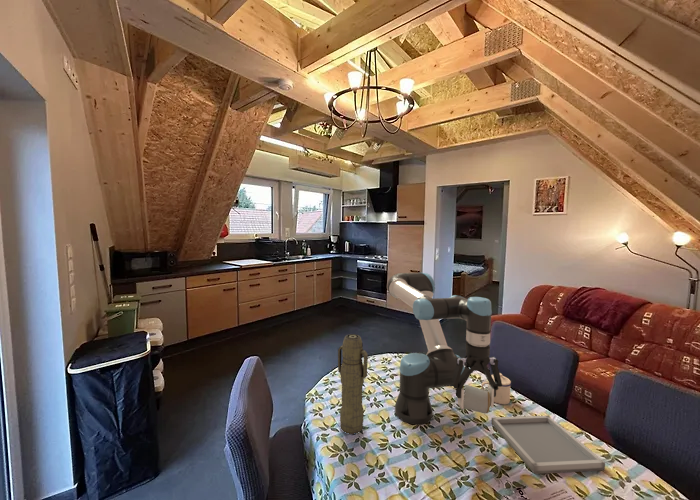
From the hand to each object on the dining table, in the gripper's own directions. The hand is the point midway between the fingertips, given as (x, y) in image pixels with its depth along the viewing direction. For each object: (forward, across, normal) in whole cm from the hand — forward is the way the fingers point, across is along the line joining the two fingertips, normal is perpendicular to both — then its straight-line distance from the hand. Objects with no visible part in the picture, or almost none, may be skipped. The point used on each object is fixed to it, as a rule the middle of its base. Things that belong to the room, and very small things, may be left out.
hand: (475, 405), depth 98 cm
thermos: (+14, -42, +12) cm, 46 cm away
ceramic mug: (+1, 0, +1) cm, 2 cm away
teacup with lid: (+14, +24, +27) cm, 39 cm away
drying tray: (+14, +24, -1) cm, 28 cm away
